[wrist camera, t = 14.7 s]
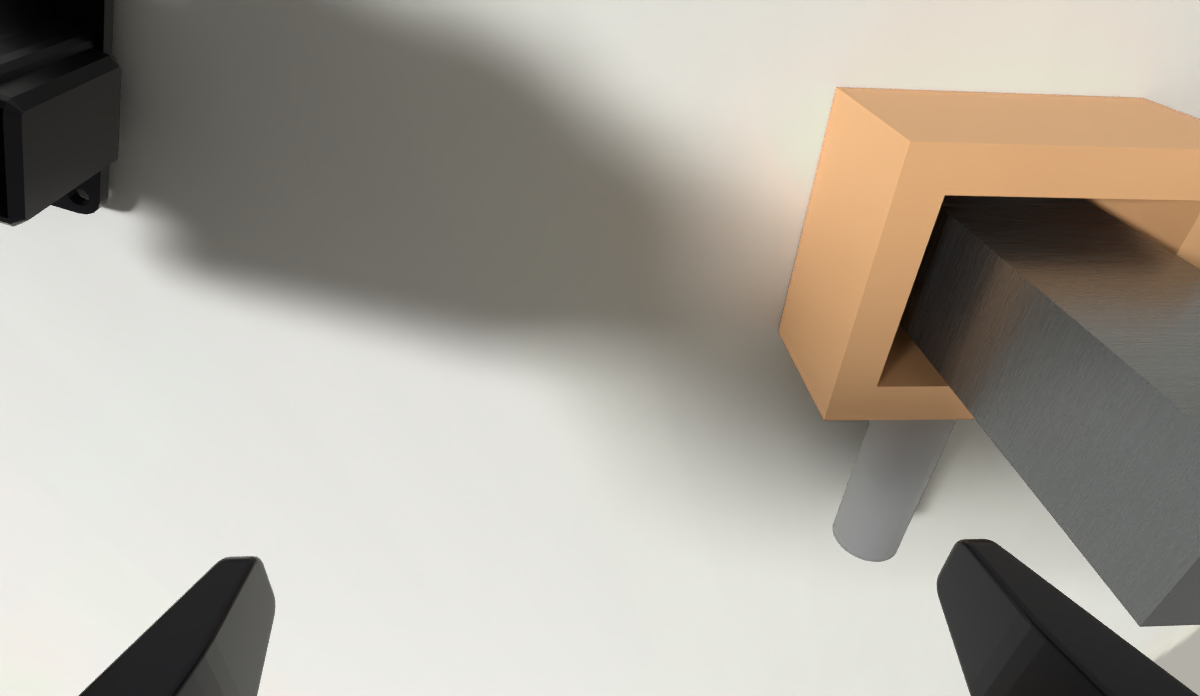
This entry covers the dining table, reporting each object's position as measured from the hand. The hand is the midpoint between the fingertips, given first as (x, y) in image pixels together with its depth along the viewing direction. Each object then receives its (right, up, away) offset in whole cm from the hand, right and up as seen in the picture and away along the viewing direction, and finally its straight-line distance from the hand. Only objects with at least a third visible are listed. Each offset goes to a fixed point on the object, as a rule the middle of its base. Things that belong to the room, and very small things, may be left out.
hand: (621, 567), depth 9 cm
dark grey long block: (+10, +7, +12) cm, 17 cm away
